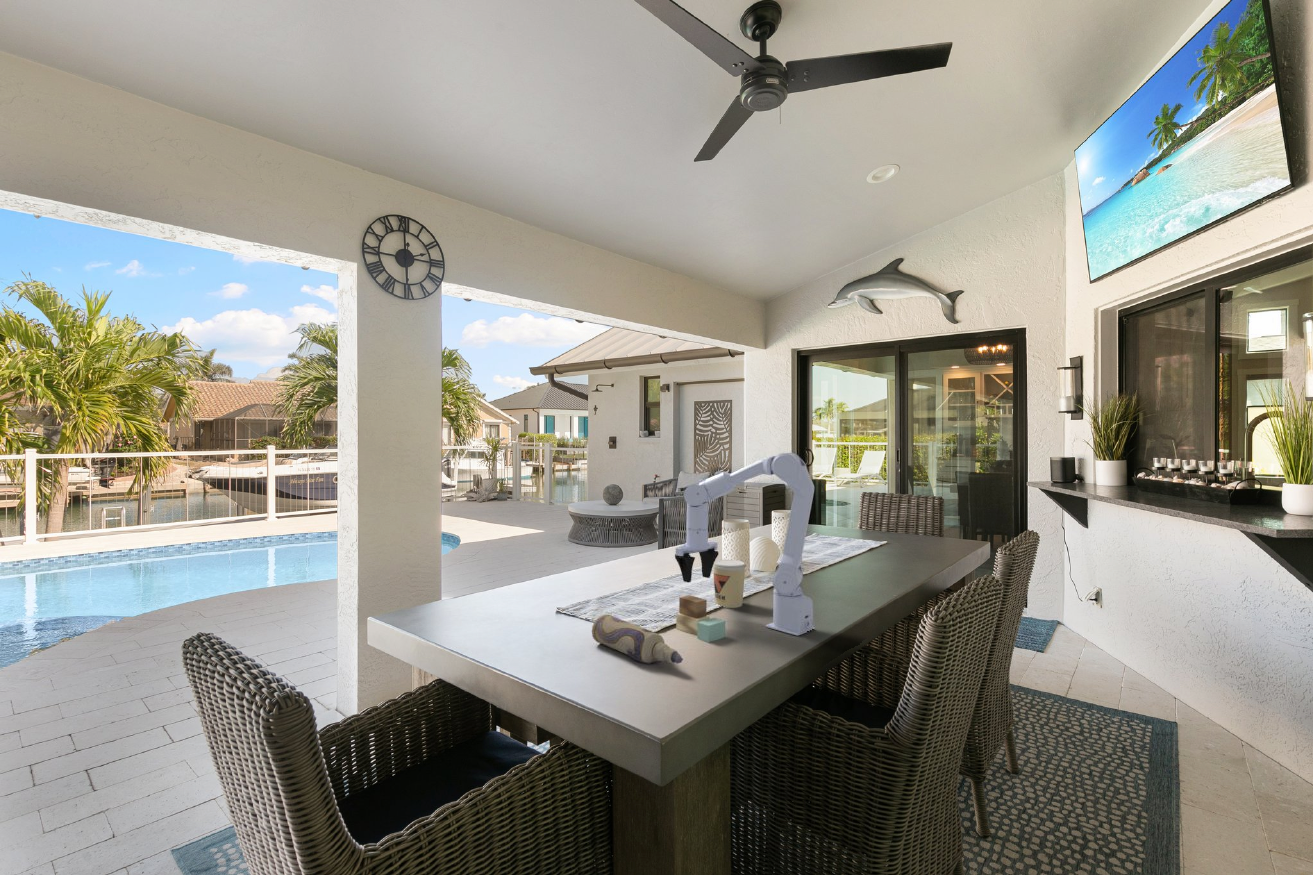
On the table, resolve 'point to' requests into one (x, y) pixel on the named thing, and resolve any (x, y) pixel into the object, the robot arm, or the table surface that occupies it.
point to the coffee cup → (729, 583)
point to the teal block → (711, 629)
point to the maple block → (688, 623)
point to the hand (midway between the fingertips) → (696, 579)
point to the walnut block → (692, 606)
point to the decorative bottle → (633, 640)
